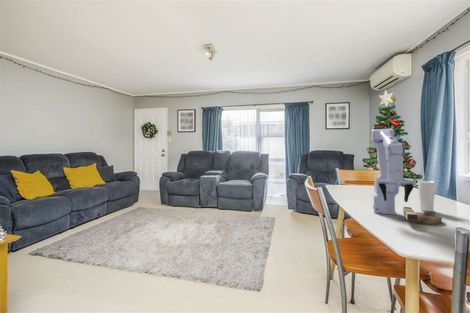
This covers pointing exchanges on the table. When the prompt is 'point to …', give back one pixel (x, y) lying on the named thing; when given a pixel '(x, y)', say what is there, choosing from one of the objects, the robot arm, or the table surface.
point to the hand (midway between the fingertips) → (395, 201)
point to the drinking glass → (426, 195)
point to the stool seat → (428, 218)
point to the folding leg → (410, 214)
